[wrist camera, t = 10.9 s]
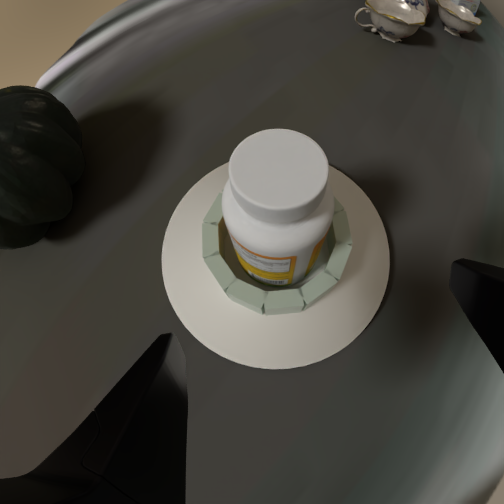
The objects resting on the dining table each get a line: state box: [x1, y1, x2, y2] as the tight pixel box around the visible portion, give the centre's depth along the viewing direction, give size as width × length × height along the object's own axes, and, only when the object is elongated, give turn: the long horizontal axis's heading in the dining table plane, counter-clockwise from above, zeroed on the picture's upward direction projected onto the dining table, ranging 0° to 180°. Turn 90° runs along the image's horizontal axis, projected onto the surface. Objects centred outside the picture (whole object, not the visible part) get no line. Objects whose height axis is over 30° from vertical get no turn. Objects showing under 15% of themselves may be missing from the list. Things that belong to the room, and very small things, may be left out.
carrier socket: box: [162, 162, 390, 369], centre depth 20 cm, size 16×16×4 cm
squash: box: [0, 86, 85, 249], centre depth 20 cm, size 14×15×15 cm
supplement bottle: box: [222, 129, 335, 288], centre depth 16 cm, size 5×5×10 cm
